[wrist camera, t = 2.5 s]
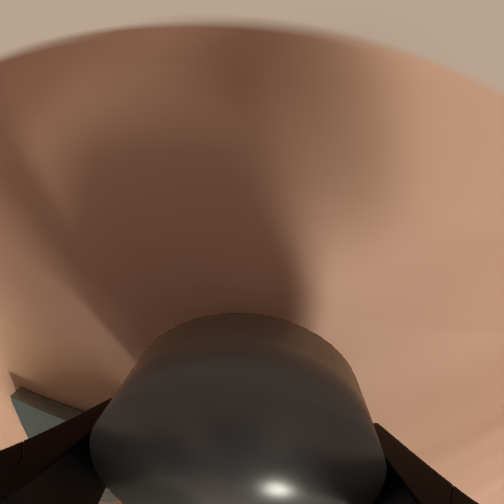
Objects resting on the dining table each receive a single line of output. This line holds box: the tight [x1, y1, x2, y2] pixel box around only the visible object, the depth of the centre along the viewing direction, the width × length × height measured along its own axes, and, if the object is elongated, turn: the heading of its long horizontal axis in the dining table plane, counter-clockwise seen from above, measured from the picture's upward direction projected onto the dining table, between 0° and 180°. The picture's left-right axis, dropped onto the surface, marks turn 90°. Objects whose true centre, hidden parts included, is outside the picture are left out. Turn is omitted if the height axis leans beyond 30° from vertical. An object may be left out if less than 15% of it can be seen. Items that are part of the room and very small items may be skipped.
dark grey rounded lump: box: [89, 313, 387, 504], centre depth 8 cm, size 7×7×6 cm
